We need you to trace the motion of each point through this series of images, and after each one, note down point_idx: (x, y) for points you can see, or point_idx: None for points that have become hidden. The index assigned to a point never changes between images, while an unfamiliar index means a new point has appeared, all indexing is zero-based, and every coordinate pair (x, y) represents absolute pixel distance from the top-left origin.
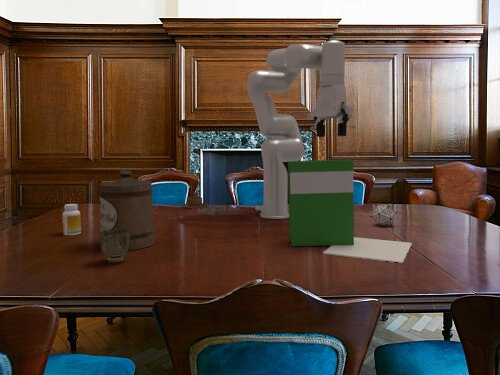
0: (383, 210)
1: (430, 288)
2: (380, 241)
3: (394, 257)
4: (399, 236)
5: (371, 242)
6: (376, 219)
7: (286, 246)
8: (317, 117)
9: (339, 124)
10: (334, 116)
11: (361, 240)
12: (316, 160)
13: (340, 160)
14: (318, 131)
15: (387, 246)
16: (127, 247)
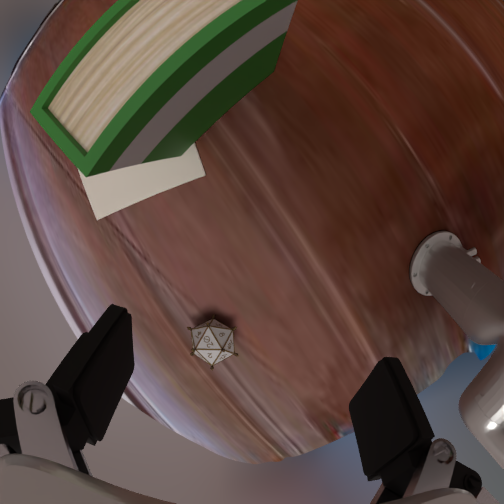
0: (201, 337)
1: (27, 62)
2: (131, 188)
3: None
4: (141, 261)
5: (137, 168)
6: (220, 324)
7: None
8: (447, 488)
9: (62, 376)
10: (51, 461)
11: (158, 168)
12: (191, 54)
13: (59, 71)
14: (393, 386)
15: None
16: None
